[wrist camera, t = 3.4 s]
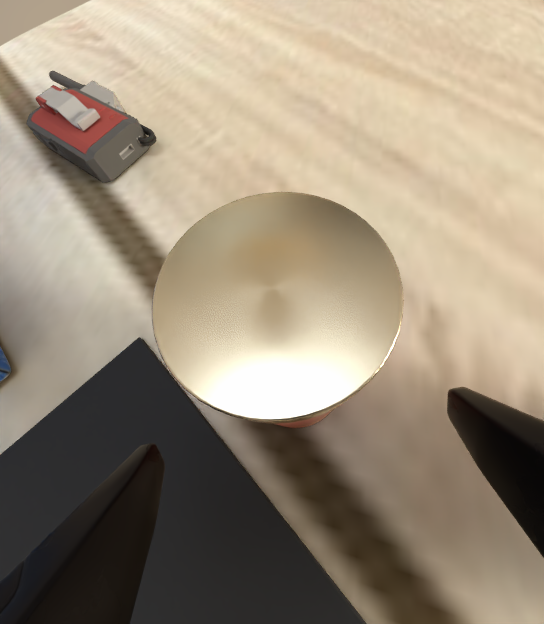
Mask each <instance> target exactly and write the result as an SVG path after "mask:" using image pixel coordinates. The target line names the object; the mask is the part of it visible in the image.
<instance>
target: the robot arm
mask: <svg viewBox="0 0 544 624" xmlns="http://www.w3.org/2000/svg"><path fill="white" fill-rule="evenodd" d="M447 413H448V416H449V419H450V421H451V422H452V424H453V426H454V427H455V429H456V431H457V432H458V434H459V436H460V438H461V439H462V441H463V443H464V444H465V446H466V448H467V449H468V451H469V453H470V455H471V456H472V458H473V460H474V461H475V463H476V464H477V466H478V468H479V469H480V471H481V472H482V474H483V475H484V476H485V478H486V479H487V481H488V482H489V483H490V485H491V486H492V487H493V489H494V490H495V492H496V493H497V494H498V496H499V497H500V498H501V500H502V501H503V503H504V504H505V505H506V507H507V508H508V509H509V511H510V512H511V514H512V515H513V516H514V518H515V519H516V520H517V522H518V523H519V525H520V526H521V527H522V529H523V530H524V531H525V533H526V534H527V536H528V537H529V538H530V540H531V541H532V542H533V544H534V545H535V547H536V548H537V549H538V551H539V552H540V554H541V555H542V556H543V558H544V421H542V420H540V419H538V418H535V417H533V416H531V415H528V414H526V413H524V412H521V411H519V410H517V409H514V408H512V407H510V406H507V405H505V404H503V403H500V402H498V401H496V400H493V399H491V398H489V397H486V396H484V395H482V394H479V393H477V392H475V391H472V390H470V389H468V388H465V387H459V388H453V389H450V390H449V391H448V401H447ZM164 472H165V463H164V460H163V458H162V455H161V453H160V451H159V449H158V447H157V445H156V444H155V443H149V444H144V445H141V446H140V447H139V448H137V449H136V450H135V451H134V452H133V453H132V454H131V455H130V456H129V457H128V458H127V459H126V460H125V461H124V462H123V463H122V464H121V465H120V466H119V467H118V468H117V469H116V470H115V471H114V472H113V473H112V474H111V475H110V476H109V477H108V478H107V479H106V480H105V481H104V482H103V483H102V484H100V485H99V486H98V487H97V488H96V489H95V490H94V491H93V492H92V493H91V494H90V495H89V496H88V497H87V498H86V499H85V500H84V501H83V502H82V503H81V504H80V505H79V506H78V507H77V508H76V509H75V510H74V511H73V512H72V513H71V514H70V515H69V516H68V517H67V518H66V519H64V520H63V521H62V522H61V523H60V524H59V525H58V526H57V527H56V528H55V529H54V530H53V531H52V532H51V533H50V534H49V535H48V536H47V537H46V538H45V539H44V540H43V541H42V542H41V543H40V544H39V545H38V546H37V547H36V548H35V549H34V550H33V551H32V552H30V553H29V554H28V555H27V556H26V558H25V560H24V561H21V562H20V563H19V564H18V565H17V566H16V567H15V568H14V569H13V570H12V571H11V572H10V573H9V574H8V575H7V576H6V577H5V578H4V579H3V580H2V581H0V624H130V621H131V617H132V613H133V610H134V606H135V602H136V598H137V594H138V591H139V587H140V583H141V579H142V575H143V571H144V568H145V564H146V560H147V556H148V552H149V548H150V545H151V541H152V537H153V533H154V529H155V525H156V520H157V515H158V509H159V503H160V497H161V490H162V484H163V478H164Z"/></svg>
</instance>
